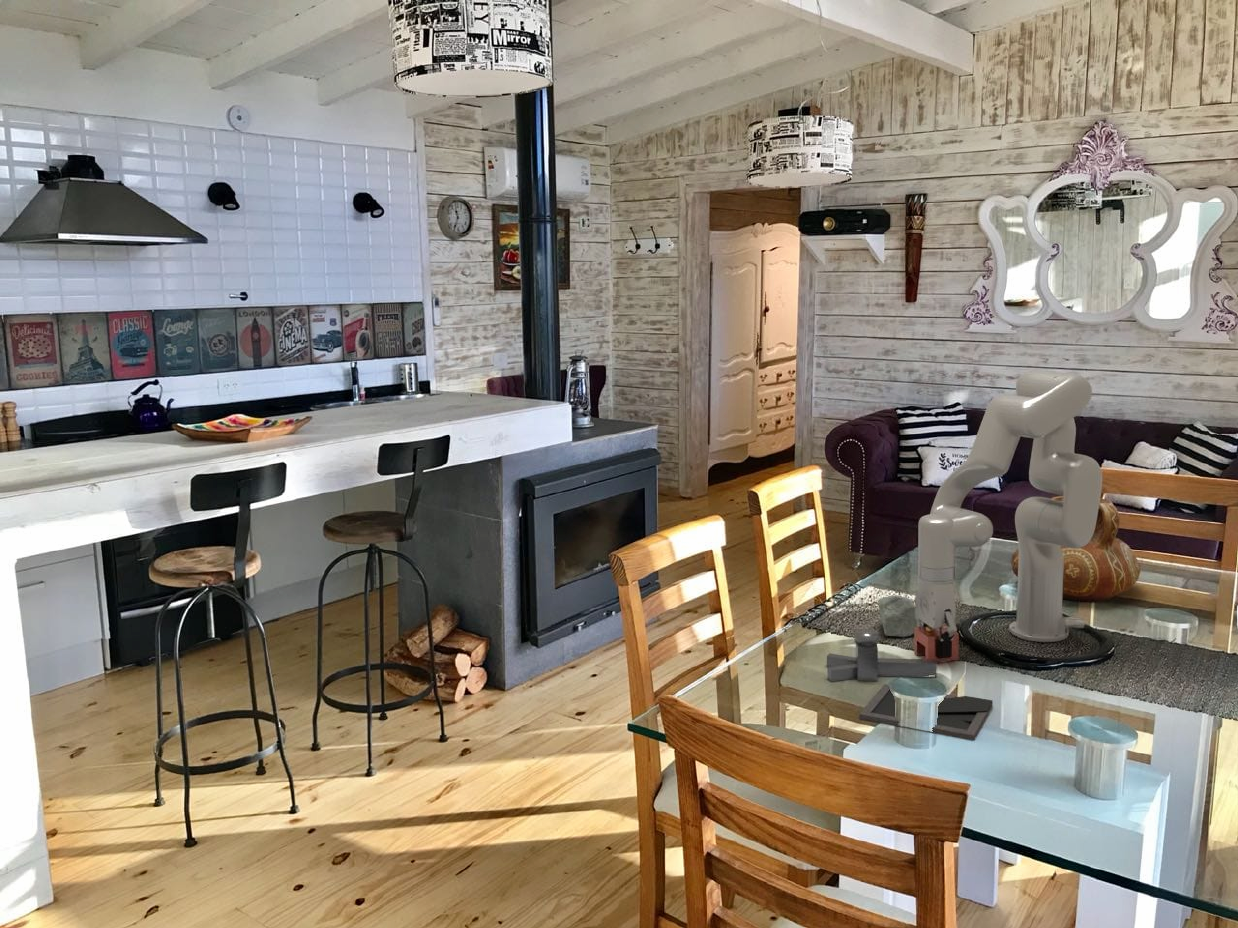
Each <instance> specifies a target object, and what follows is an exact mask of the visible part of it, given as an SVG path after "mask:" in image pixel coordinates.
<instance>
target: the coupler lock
mask: <svg viewBox="0 0 1238 928" xmlns="http://www.w3.org/2000/svg"><path fill="white" fill-rule="evenodd" d="M942 626H946V624H945V623H943V624H942ZM946 631H947V629H942V634H944V632H946ZM959 635H960V634H959V633H958V632H957V631H956V633H955V634H954V637H953V640H952V656H951V657H950V658H943V659H938V658H937V640H939V639H938V633H937V629H933V628H931V627H930V626H921V627H920V626H919V627H914V634H913V637H914V640H913V641H914V642H913V643H914V646H913V647H914V648H913V649H914V651H913V652H914V654H915V655H916V656H920V655H924V656H925V658H924V659H935V661H936V664H937V663H944V662H943V661H946V662H952V661H951V660H954V661H959V649H960V648H959V645H960V644H959V643H960V642H959V638H960V636H959Z"/></svg>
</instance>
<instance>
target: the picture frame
mask: <svg viewBox="0 0 1238 928" xmlns="http://www.w3.org/2000/svg"><path fill="white" fill-rule="evenodd" d="M889 685H890V684H886V683H884V684H883V685H882V686H881V688H880V689H879V690H878V691H877V692H876V694H875V695H874V696H873V697H872V699H871V700H870V701H869V702H868V703H867V704H866V706H865V707H864V708H863V710H861V711H860V713H859V720H864V721H868V722H874V723H878V724H879V723H880V724H884V725H888V726H889V725H890V726H894V727H895V726H896V727H899V726H898V723H899V721H898V720H897V718H896V717H895V699H894V696H893V694H892V693H891V691H890V687H889ZM945 695H946V696H945V697H944V700H943V701H942V702H941V703H940V704H939V706H938V718H937V725H935V727H933V728H932V729H933V730H932V731H933V732H932V734H937V735H942V736H947V737H948V736H949V737H953V738H959V739H964V740H970V741H975V739H976V737H977V736H978V734H979V732H980V730H981V729H982V727H983V725H984V723H985V721H986V719H988V716H989V714H990V712H991V711H992V709H993V706H994V705H993V699H987V698H980V697H975V696H967V695H963V696H962V695H960V696H955V695H950V694H945Z"/></svg>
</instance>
